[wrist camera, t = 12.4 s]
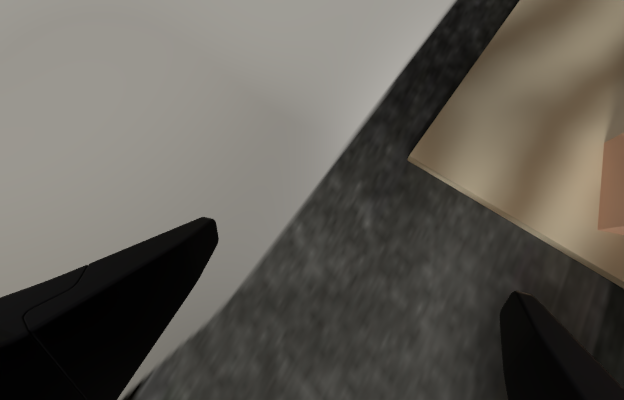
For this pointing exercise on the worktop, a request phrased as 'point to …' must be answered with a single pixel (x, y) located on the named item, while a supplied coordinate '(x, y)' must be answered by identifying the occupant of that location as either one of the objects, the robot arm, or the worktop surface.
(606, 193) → the sleeve
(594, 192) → the board
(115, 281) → the robot arm
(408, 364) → the worktop surface
